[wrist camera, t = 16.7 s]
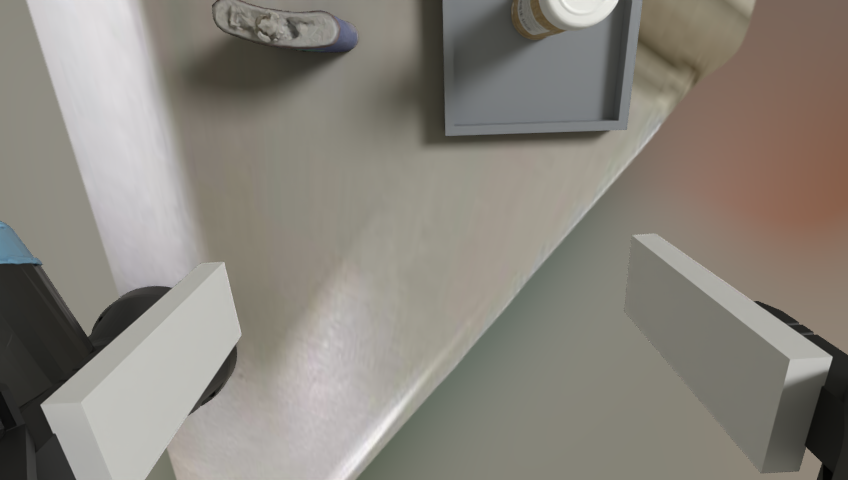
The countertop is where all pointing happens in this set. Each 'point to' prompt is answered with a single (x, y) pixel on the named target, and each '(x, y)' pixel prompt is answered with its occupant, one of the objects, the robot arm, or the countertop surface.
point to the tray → (535, 72)
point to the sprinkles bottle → (557, 16)
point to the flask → (285, 27)
